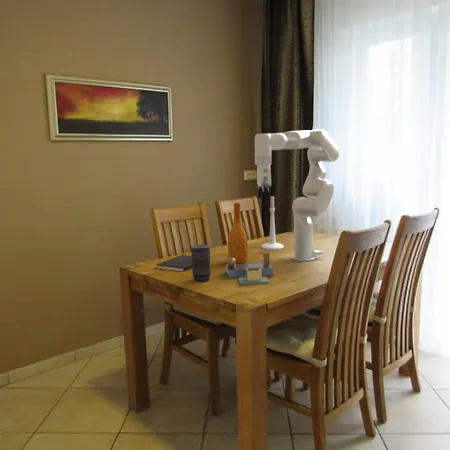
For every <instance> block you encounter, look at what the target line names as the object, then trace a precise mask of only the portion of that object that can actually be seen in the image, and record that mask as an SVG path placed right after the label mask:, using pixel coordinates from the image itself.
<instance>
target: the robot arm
mask: <svg viewBox="0 0 450 450" xmlns="http://www.w3.org/2000/svg"><path fill="white" fill-rule="evenodd" d="M307 148H308V149H307ZM298 149H307V153H306V154H307V159H308V160H307V161H308V162H309V172H308V174H307V177H306V179H305V182H304V183H303V187H302V194H303V196H298V197H297V198H295V199H294V200H293V202H292V205H291V206H292V207H291V209H292V212H293V220H294V224H293V225H294V227H293V228H294V230H293V231H294V233H293V234H294V236H293V239H294V240H293V241H294V242H293V244H294V245H293V249H294V251H293V254H292V255H291V256H290V258H291V259H292V260H293V261H297V262H298V261H299V262H308V261H309V262H311V261H314V260H316V259H317V256H321V255H323V251H322V250H315V249H314V222H313V219H312V218H318V219H319V218H321V217H323V216H325V213H326V212H327V210H328V208H329V205H330V202H331V201H332V198H333V195H334V192H335V191H334V187H335V186H334V183H333V182H332V181H331V180H328V179H325V178H326V176H327V170H326V168H325V166H324V164H323V163H333V162H335V161H337V160H338V159H339V157H340V150H339V147H338V145H337V144H336V142H335V141H334V140H333V138H332V137H331V136H330V135H329V133H328V132H327V131H325V130H324V129H312V130H309V129H308V130H292V131H291V130H290V131H286V132H277V133H275V132H274V133H257V134H255V136H254V165H255V166H256V167H257V168H256V184H257V197H258V199H261V201H269V200H270V187H272V174H271V173H272V172H271V165H272V164H273V163H272V159H273V158H272V151H280V150H298Z"/></svg>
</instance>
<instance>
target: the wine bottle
mask: <svg viewBox="0 0 450 450" xmlns="http://www.w3.org/2000/svg"><path fill="white" fill-rule="evenodd" d="M233 212H234V218H233V222H232V223H233V224H232V225H231V228H230V231H229V234H228V237H227V250H228V251H227V252H228V258H235V264H245V263H246V262H247V261H248V251H249V250H248V249H249V247H248V246H249V245H248V236H247V232H246V230H245V228H246V227H245V224H244V222H242V220H241V203H240V202H234V203H233Z"/></svg>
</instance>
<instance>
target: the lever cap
mask: <svg viewBox="0 0 450 450" xmlns="http://www.w3.org/2000/svg"><path fill="white" fill-rule="evenodd" d="M262 277H263V276H262V271H261V269H260V268H259V267H249V268H246V277H245V278H246V280H247V281H248V282H252V281H262Z"/></svg>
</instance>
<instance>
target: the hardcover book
mask: <svg viewBox="0 0 450 450" xmlns="http://www.w3.org/2000/svg"><path fill="white" fill-rule="evenodd" d="M156 268H157V269H160V268H162V270H170V271H178V272H183V273H184V272H186V271H189V270H192V257H191V255H186V254H181V255H179V256H175V257H173V258H171V259H167V260H165V261H162V262H160V263H157V264H156Z"/></svg>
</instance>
